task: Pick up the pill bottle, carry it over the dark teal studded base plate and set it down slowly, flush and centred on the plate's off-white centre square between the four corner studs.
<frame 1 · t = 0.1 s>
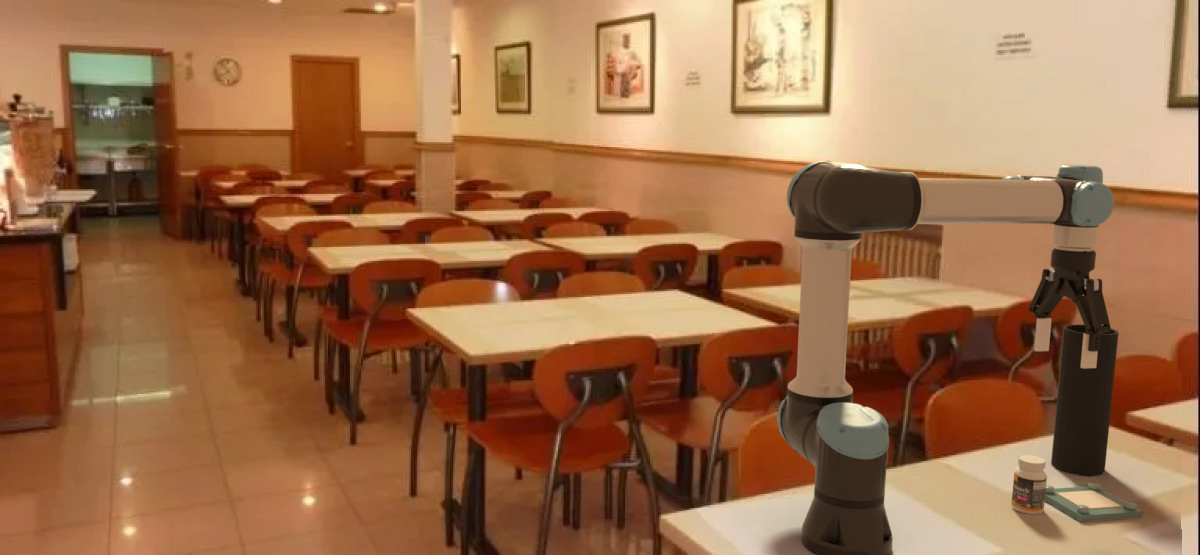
hand: (1064, 359, 187), 28 cm above the table, fingers open, 13 cm apart
pill bottle: (1027, 510, 186), on the table
plate: (1087, 506, 188), on the table
vase: (1077, 468, 209), on the table
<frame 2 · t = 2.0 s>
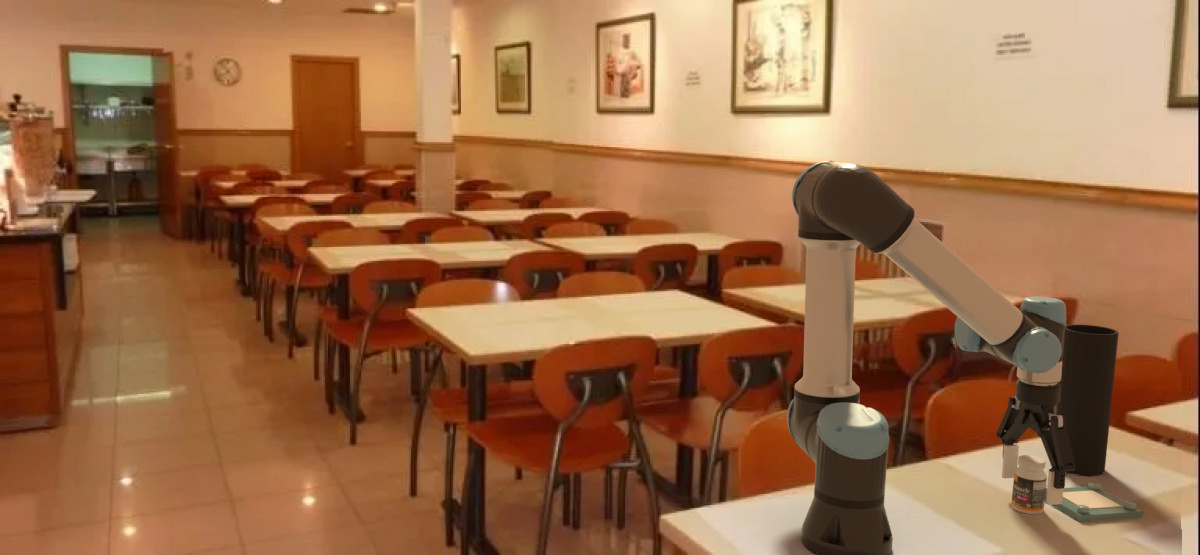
hand: (1030, 490, 185), 4 cm above the table, fingers open, 13 cm apart
nothing on the table moved.
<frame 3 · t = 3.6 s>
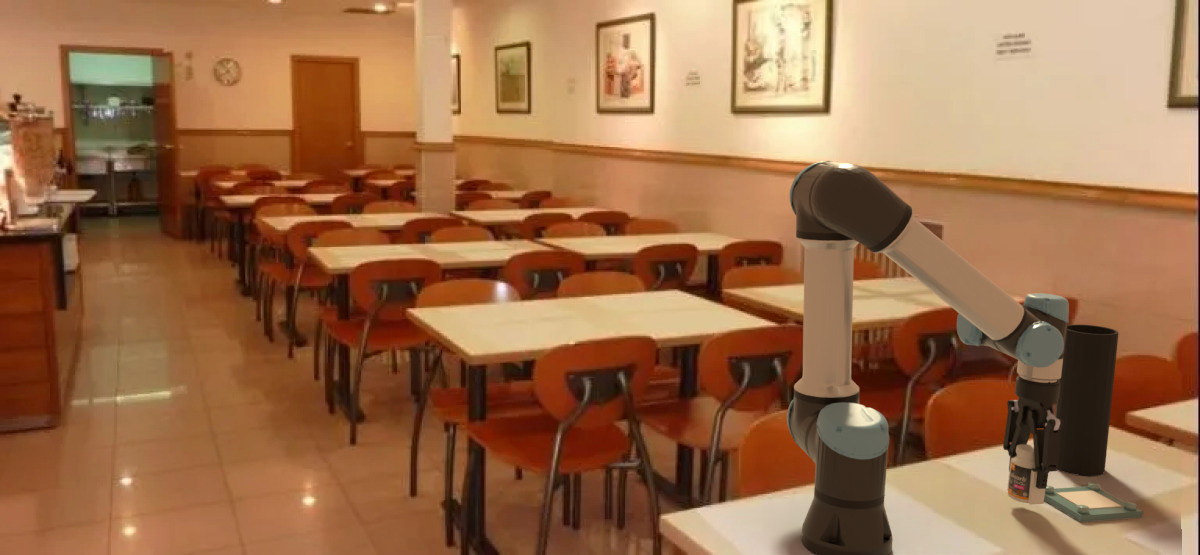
hand: (1025, 496, 185), 2 cm above the table, fingers closed on pill bottle, 6 cm apart
pill bottle: (1023, 499, 185), point 2 cm above the table, touching gripper
everything else where it was.
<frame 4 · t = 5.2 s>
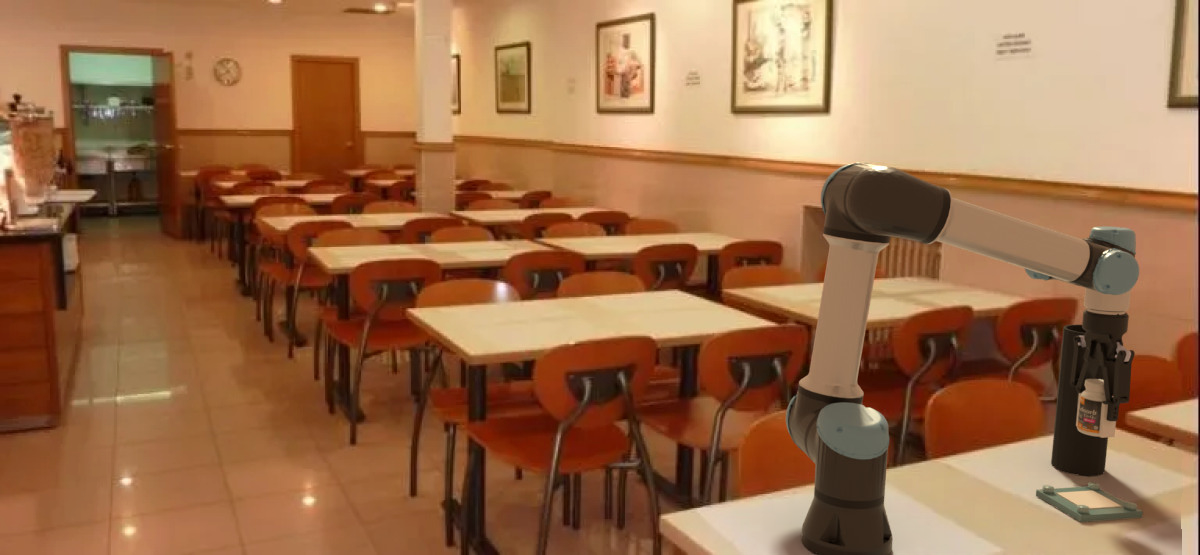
hand: (1094, 431, 185), 15 cm above the table, fingers closed on pill bottle, 6 cm apart
pill bottle: (1093, 433, 185), point 14 cm above the table, touching gripper
everything else where it was.
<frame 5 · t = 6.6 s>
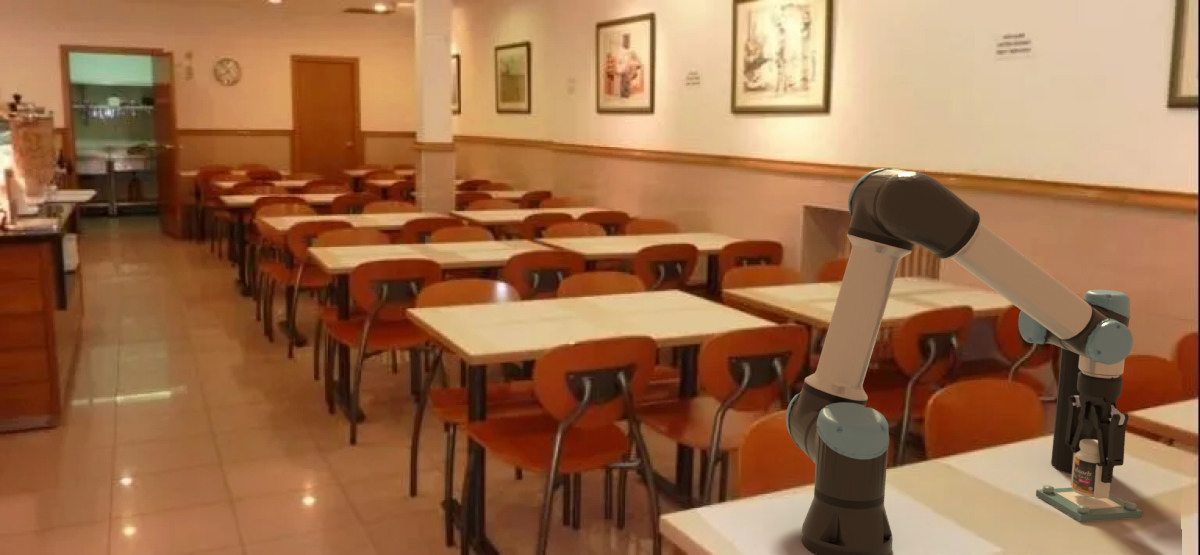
hand: (1089, 491, 187), 3 cm above the table, fingers closed on pill bottle, 6 cm apart
pill bottle: (1088, 493, 187), point 3 cm above the table, touching gripper
everything else where it was.
when the fingers open (2 cm above the table, at t = 7.1 s): pill bottle stays where it is, resting on plate.
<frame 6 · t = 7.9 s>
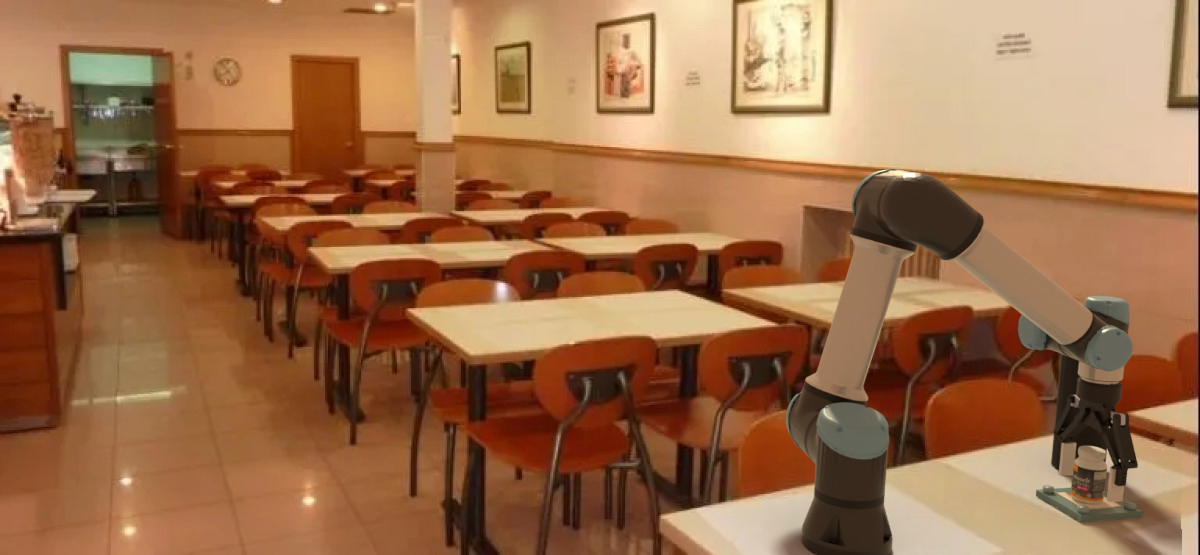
hand: (1089, 487, 187), 4 cm above the table, fingers open, 13 cm apart
pill bottle: (1086, 500, 187), point 1 cm above the table, touching plate
everything else where it was.
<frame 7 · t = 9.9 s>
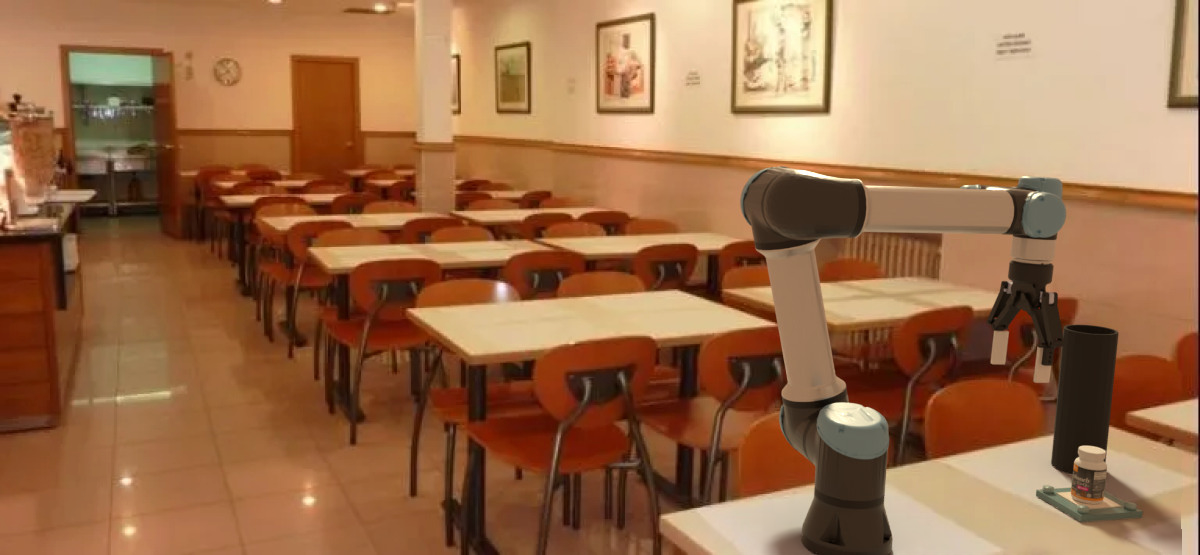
hand: (1018, 372, 184), 26 cm above the table, fingers open, 13 cm apart
nothing on the table moved.
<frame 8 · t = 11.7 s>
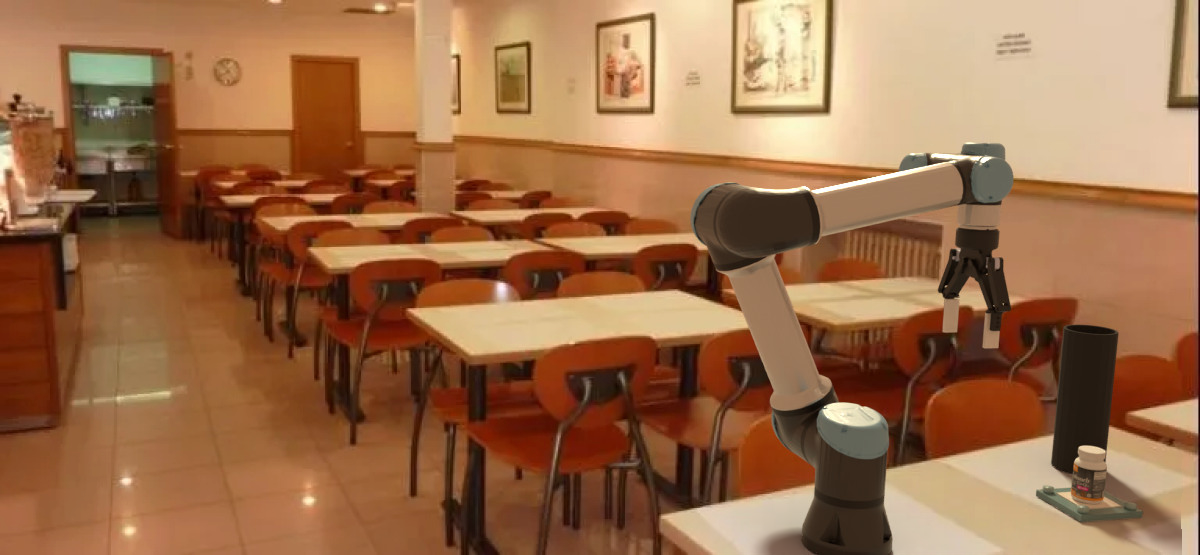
hand: (969, 339, 184), 32 cm above the table, fingers open, 13 cm apart
nothing on the table moved.
at the end: pill bottle 0.3 cm from the plate (horizontally); pill bottle tilted 0°; pill bottle touching plate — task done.
